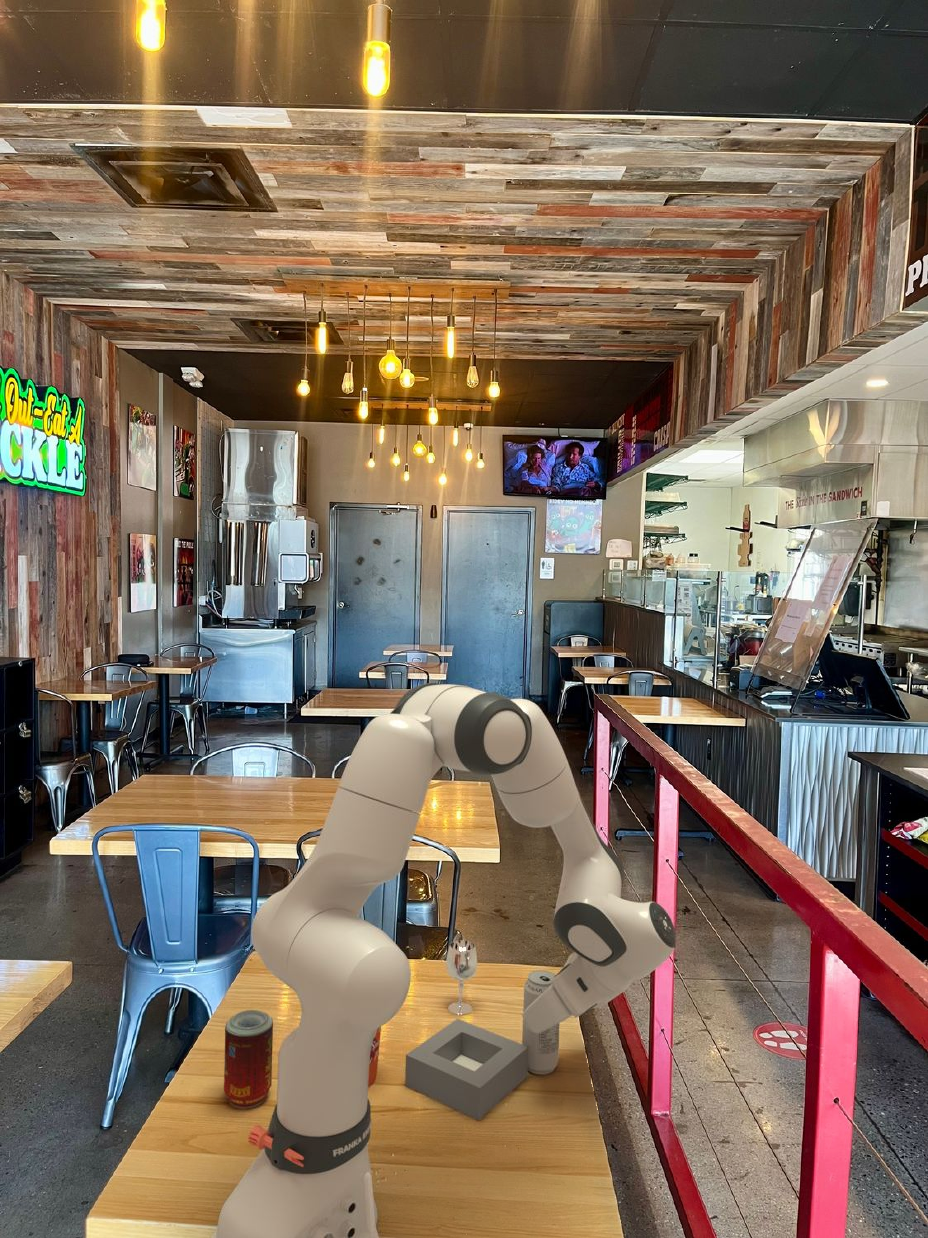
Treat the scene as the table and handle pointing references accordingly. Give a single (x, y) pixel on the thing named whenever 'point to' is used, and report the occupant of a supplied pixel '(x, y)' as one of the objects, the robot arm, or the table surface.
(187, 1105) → the table surface
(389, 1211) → the table surface
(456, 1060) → the socket block
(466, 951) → the wineglass
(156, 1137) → the table surface
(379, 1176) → the table surface
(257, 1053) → the soda can
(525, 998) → the energy drink can
